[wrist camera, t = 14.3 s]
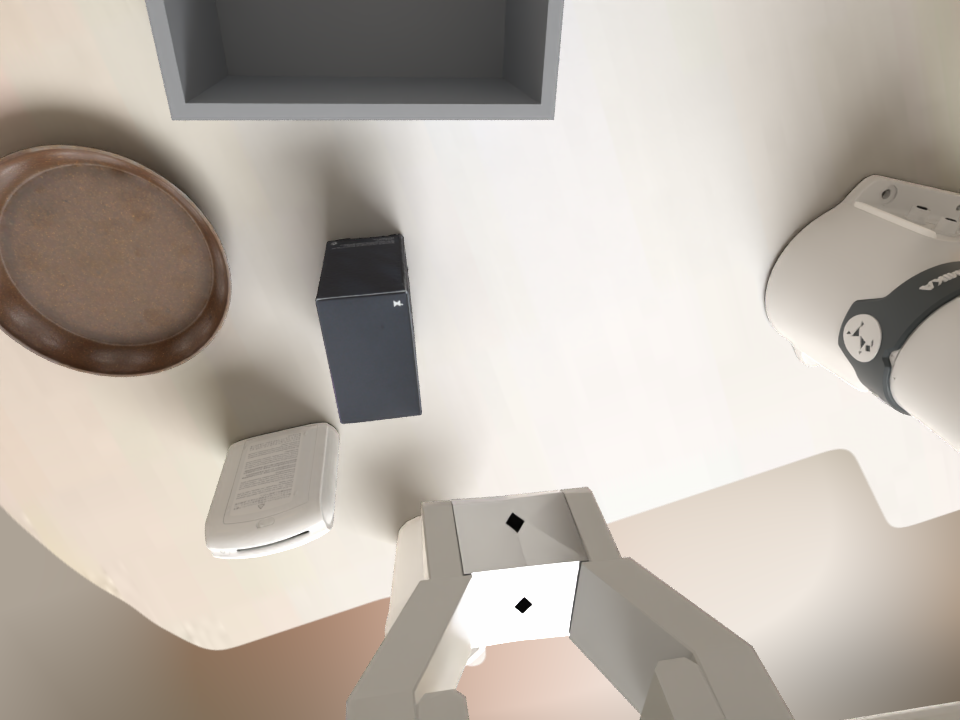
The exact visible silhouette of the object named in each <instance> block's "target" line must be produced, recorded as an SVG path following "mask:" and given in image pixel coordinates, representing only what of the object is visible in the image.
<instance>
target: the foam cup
mask: <svg viewBox="0 0 960 720" xmlns="http://www.w3.org/2000/svg"><path fill="white" fill-rule="evenodd" d="M421 580H424V573H423V553H422V524H421V516H418V517H416V518H413V519H411V520H409V521H407V522H406V523H405V524H404V525H403V526H402V527H401V529H400V530H399V533H398V538H397V545H396V554H395V563H394V571H393V580H392V589H391V598H390V608H389V614H388V617H387V622H386V626H385V637H386V635H387V634H388V632H389V630H390V629H391V627H392V626H393V624H394V622H395V621H396V619H397V617H398V616H399V614H400V612H401V611H402V609H403V608H404V606H405V604H406V603H407V601H408V599H409V598H410V596H411V594H412V593H413V591H414V589H415V588H416V586H417V585H418V583H419V581H421ZM485 647H486V646H480V647H474V648H471V653H470V656H469V658H468V661H467V663H466V665H468V664H470V663H471V662H473V661H474V660H475V659H476V658H477V657H478V656H479V655H480V654H481V653H482V652H483V651H484V650H485Z"/></svg>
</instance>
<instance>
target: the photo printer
mask: <svg viewBox="0 0 960 720" xmlns="http://www.w3.org/2000/svg"><path fill="white" fill-rule="evenodd" d="M339 443H340V437H339V434H338V432H337V430H336V429H335V428H334V427H332V426H331V425H328V423H315V424H309V425H304V426H299V427H295V428H290V429H286V430H281V431H277V432H273V433H269V434H264V435H260V436H256V437H252V438H248V439H245V440H241V441H238V442H236V443H234V444H232V445H231V446H230V447H229V449H228V452H227V456H226V459H225V462H224V465H223V469H222V472H221V475H220V478H219V481H218V484H217V488H216V491H215V494H214V497H213V500H212V503H211V506H210V510H209V513H208V516H207V519H206V523H205V540H206V545H207V548H208V549H210V550H211V552H212V554H213V556H214V557H216V558H223V559H244V558H253V557H260V556H265V555H270V554H274V553H278V552H282V551H285V550H289V549H292V548H295V547H298V546H300V545H303V544H305V543H308V542H310V541H312V540H315V539H317V538H318V537H320V536H322V535H324V534H325V533H327V532H329V531H330V530H331V529H332V527H333V521H334V508H335V497H336V485H337V472H338V458H339Z"/></svg>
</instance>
